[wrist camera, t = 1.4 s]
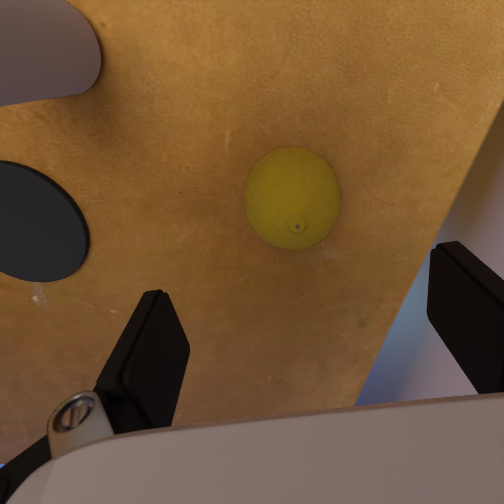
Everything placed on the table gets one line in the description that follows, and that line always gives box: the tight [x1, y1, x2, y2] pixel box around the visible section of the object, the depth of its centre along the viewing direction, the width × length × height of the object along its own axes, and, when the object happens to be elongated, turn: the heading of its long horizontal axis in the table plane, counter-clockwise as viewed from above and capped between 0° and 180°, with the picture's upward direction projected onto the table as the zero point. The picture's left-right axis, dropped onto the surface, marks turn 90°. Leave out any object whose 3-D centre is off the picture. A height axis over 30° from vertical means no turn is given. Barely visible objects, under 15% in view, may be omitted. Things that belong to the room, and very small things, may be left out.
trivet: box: [0, 161, 89, 282], centre depth 24 cm, size 10×10×1 cm
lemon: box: [244, 146, 341, 250], centre depth 19 cm, size 6×6×8 cm
